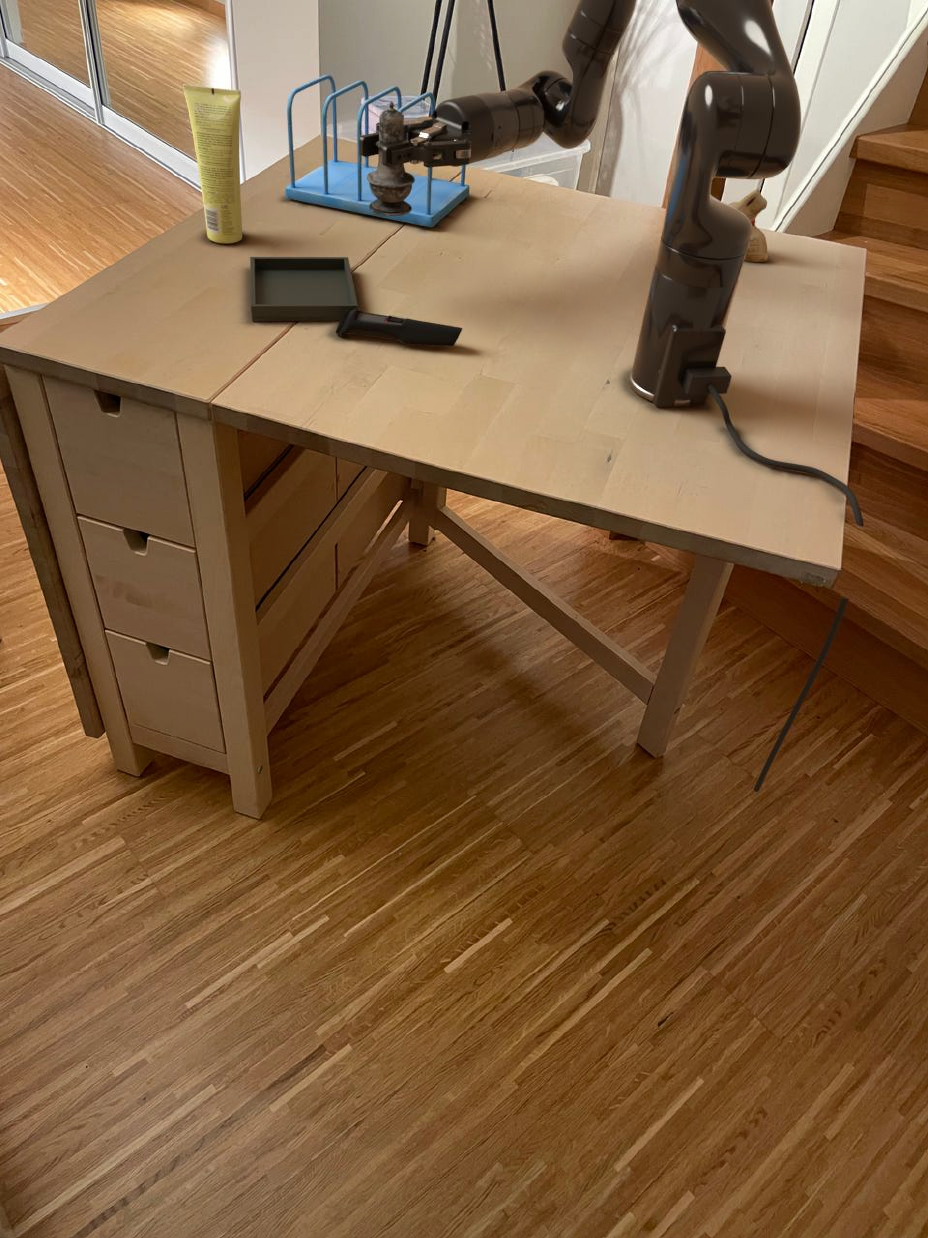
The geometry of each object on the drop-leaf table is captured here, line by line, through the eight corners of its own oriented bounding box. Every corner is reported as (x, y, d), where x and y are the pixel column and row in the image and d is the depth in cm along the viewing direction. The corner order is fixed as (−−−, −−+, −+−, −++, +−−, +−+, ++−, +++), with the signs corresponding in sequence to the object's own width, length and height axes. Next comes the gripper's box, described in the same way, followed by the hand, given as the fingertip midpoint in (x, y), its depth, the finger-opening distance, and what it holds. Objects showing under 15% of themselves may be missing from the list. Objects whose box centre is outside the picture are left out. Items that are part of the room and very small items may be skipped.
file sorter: (469, 196, 153) (477, 93, 142) (432, 231, 141) (437, 121, 130) (332, 169, 158) (330, 67, 147) (284, 200, 146) (278, 91, 135)
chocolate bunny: (734, 242, 147) (752, 176, 140) (771, 260, 142) (791, 193, 135) (709, 247, 144) (727, 180, 137) (746, 266, 140) (766, 198, 133)
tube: (235, 228, 136) (221, 79, 122) (253, 240, 133) (240, 89, 120) (200, 235, 133) (182, 83, 120) (217, 247, 130) (201, 93, 117)
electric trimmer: (457, 358, 112) (459, 334, 110) (334, 337, 113) (333, 313, 111) (462, 344, 115) (465, 320, 113) (342, 324, 116) (342, 300, 114)
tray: (358, 320, 117) (358, 305, 116) (252, 321, 115) (250, 306, 113) (348, 271, 128) (348, 256, 126) (251, 271, 125) (250, 256, 124)
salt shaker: (360, 201, 115) (358, 94, 107) (403, 197, 117) (405, 92, 109) (376, 218, 111) (376, 109, 103) (421, 214, 113) (424, 106, 105)
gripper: (438, 81, 118) (333, 101, 109) (519, 110, 111) (413, 133, 102) (436, 144, 123) (335, 168, 114) (512, 175, 116) (411, 203, 107)
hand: (373, 151), depth 108 cm, fingers closed on salt shaker, 3 cm apart
